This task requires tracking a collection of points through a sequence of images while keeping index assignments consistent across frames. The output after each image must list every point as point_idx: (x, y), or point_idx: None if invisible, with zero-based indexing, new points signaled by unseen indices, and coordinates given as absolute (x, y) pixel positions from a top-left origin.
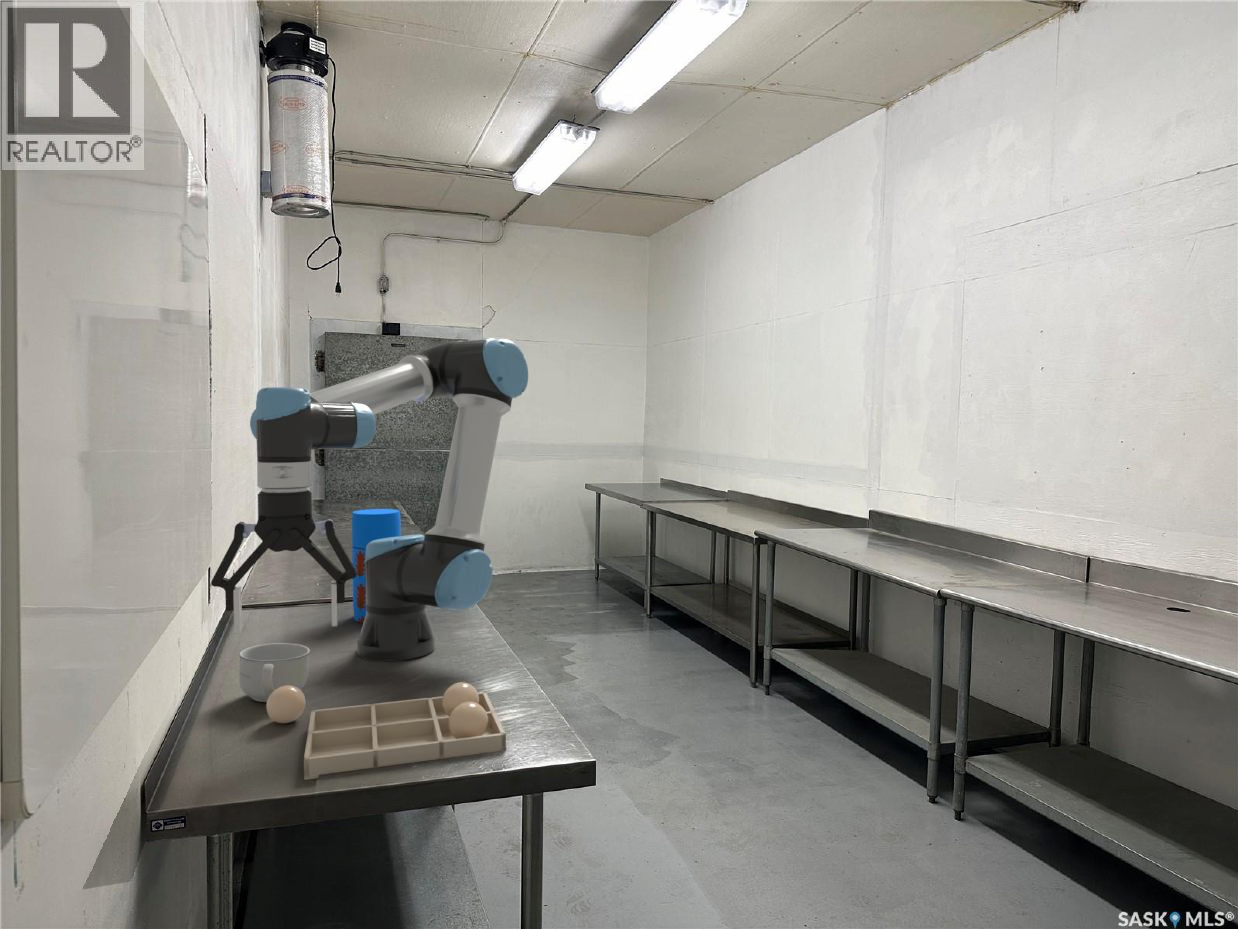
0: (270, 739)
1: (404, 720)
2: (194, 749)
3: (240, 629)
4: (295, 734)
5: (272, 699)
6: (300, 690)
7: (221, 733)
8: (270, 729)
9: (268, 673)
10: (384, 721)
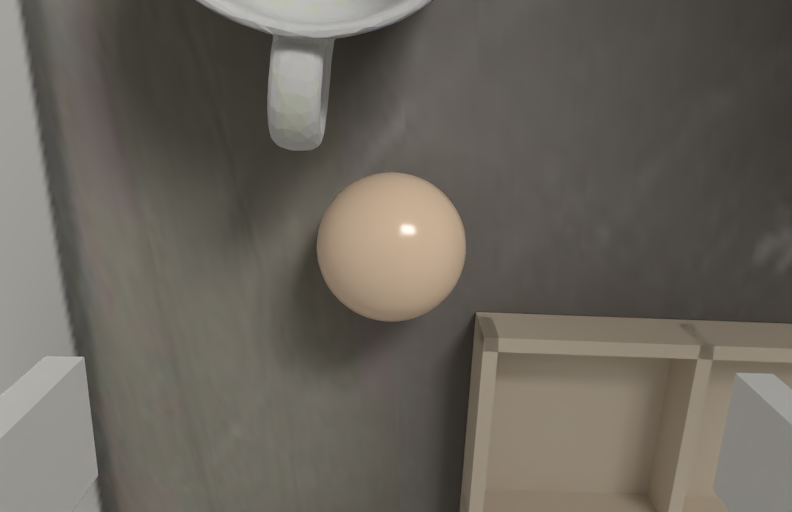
0: (348, 360)
1: None
2: (127, 361)
3: (85, 456)
4: (424, 346)
5: (341, 296)
6: (450, 256)
7: (182, 256)
8: None
9: (303, 145)
10: (713, 370)
